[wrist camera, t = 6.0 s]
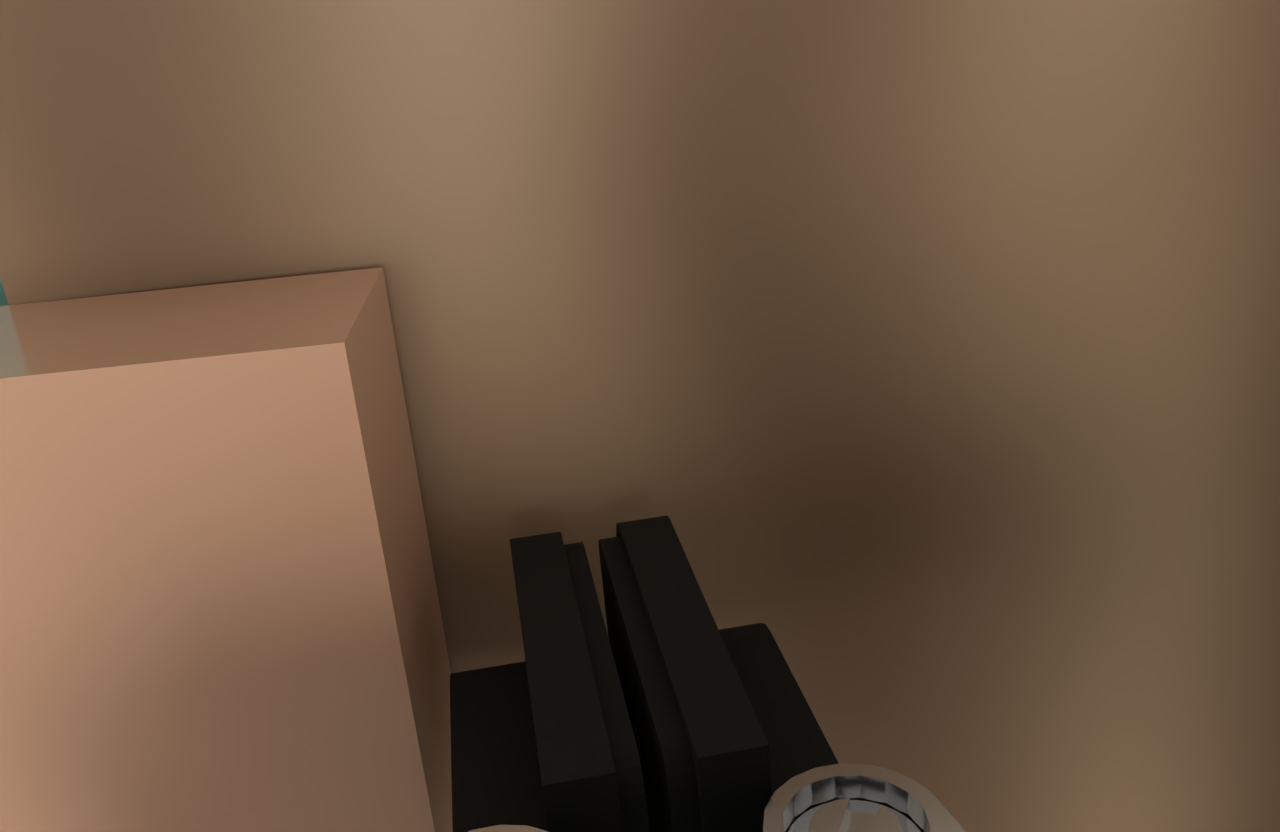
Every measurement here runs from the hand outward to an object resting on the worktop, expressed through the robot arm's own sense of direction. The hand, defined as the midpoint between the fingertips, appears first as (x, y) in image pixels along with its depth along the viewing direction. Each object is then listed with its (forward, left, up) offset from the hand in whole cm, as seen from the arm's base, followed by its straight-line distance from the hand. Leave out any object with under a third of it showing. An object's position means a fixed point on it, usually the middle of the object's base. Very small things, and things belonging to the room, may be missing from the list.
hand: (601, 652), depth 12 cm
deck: (-3, 0, -5) cm, 6 cm away
